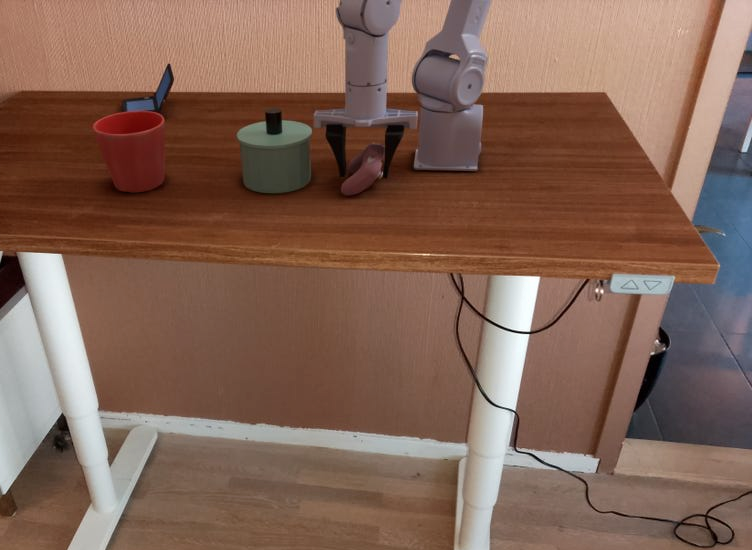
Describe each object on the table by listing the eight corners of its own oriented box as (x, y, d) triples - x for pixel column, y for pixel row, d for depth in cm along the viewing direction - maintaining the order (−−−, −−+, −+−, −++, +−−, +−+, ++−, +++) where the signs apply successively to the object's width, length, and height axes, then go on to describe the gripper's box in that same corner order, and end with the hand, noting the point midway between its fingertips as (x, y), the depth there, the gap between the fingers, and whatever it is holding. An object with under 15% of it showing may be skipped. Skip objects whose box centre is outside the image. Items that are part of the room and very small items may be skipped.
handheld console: (122, 105, 148) (116, 67, 144) (174, 99, 149) (170, 61, 145) (123, 123, 138) (116, 83, 134) (179, 117, 139) (174, 77, 135)
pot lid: (305, 124, 112) (304, 96, 110) (318, 148, 103) (318, 118, 101) (233, 131, 111) (231, 103, 109) (241, 156, 102) (239, 126, 100)
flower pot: (117, 203, 107) (104, 139, 101) (96, 179, 115) (84, 119, 109) (183, 187, 111) (174, 124, 105) (158, 165, 119) (149, 105, 113)
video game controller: (365, 207, 104) (389, 166, 100) (337, 194, 104) (359, 152, 100) (372, 181, 112) (393, 142, 108) (345, 168, 112) (366, 128, 108)
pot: (304, 164, 116) (302, 121, 112) (316, 189, 107) (315, 143, 103) (240, 171, 115) (236, 128, 111) (247, 196, 106) (243, 151, 102)
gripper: (309, 89, 97) (311, 184, 105) (418, 89, 94) (412, 187, 102) (317, 74, 103) (319, 166, 111) (420, 74, 100) (414, 168, 108)
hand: (364, 175), depth 107 cm, fingers closed on video game controller, 6 cm apart
